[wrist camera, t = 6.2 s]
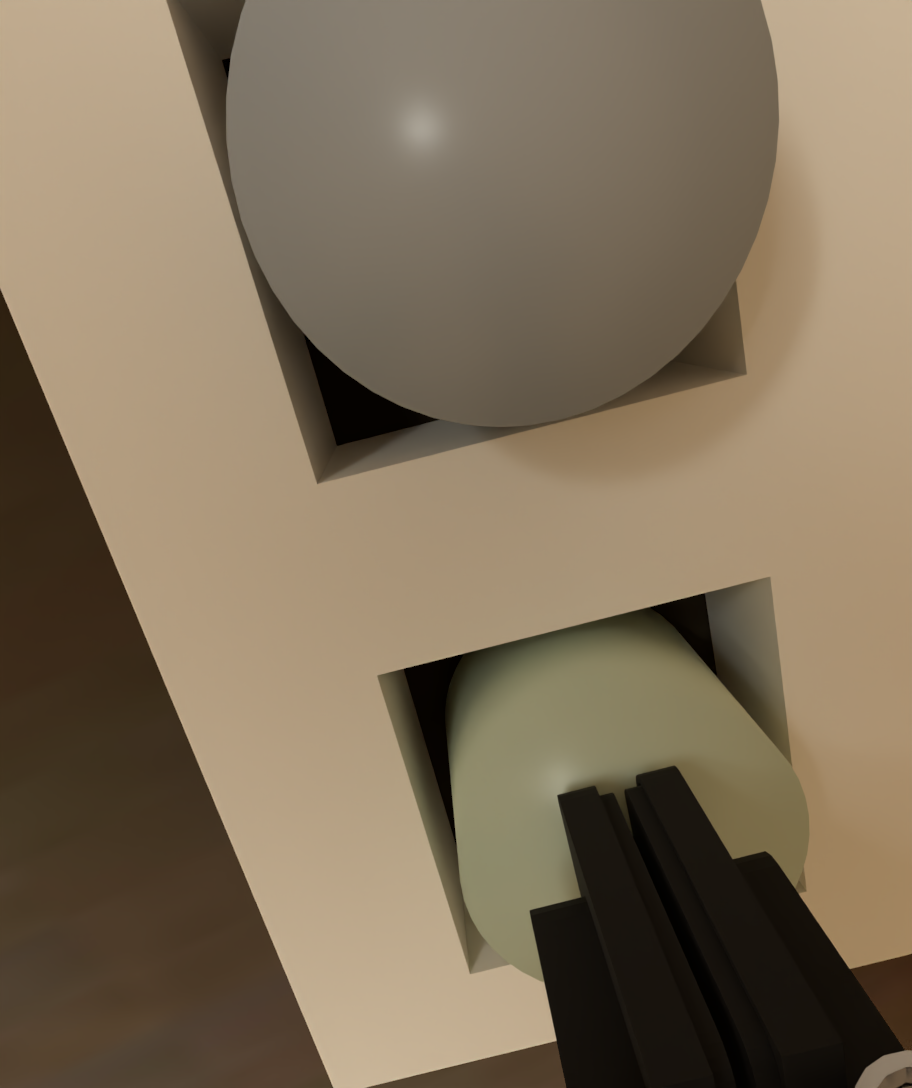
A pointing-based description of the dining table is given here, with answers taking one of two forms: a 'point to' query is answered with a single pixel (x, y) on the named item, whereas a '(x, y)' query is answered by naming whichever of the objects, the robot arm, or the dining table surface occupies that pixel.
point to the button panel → (469, 505)
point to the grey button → (501, 187)
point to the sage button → (597, 761)
